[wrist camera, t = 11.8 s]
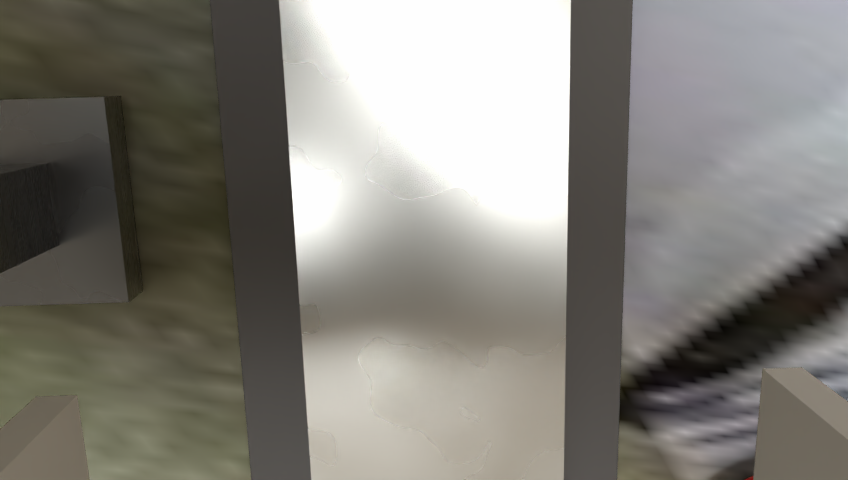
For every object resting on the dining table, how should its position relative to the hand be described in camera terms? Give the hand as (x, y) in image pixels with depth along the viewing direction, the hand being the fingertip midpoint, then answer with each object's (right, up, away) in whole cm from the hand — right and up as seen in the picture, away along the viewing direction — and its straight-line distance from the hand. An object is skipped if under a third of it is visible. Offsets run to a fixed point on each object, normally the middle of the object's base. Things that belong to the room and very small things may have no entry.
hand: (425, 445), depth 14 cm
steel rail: (0, +1, +5) cm, 5 cm away
